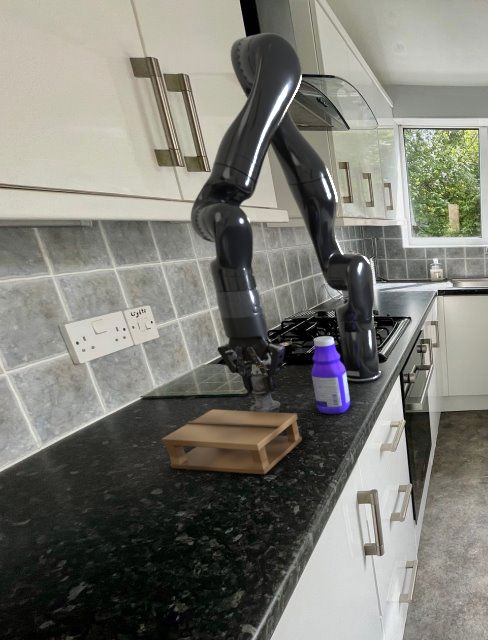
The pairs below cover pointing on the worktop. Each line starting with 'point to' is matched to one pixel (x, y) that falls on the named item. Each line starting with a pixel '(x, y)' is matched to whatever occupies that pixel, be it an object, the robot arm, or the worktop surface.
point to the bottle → (329, 378)
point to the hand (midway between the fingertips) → (261, 390)
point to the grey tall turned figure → (262, 396)
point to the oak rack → (233, 441)
